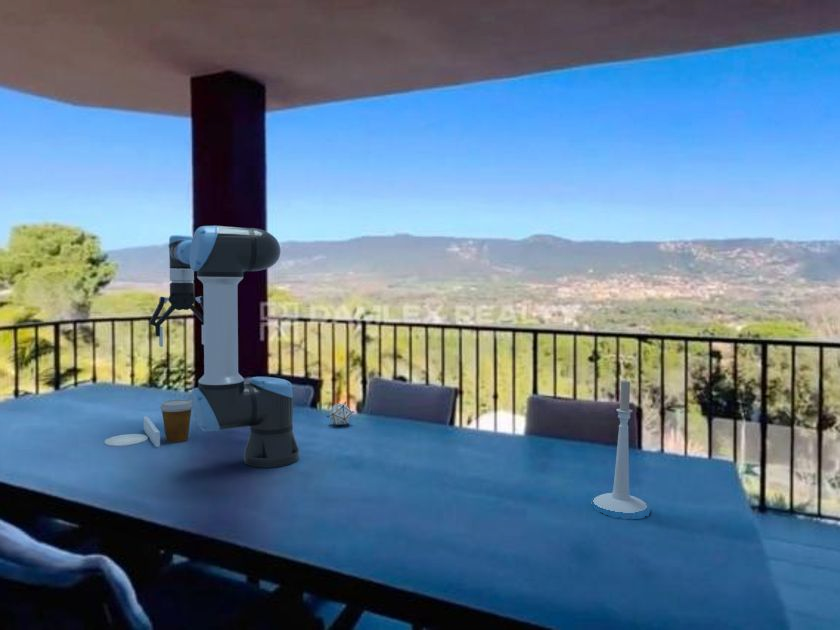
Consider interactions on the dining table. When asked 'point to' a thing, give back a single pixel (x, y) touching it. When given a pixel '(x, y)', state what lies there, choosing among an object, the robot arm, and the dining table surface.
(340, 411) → the game die
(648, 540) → the dining table surface
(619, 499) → the candlestick
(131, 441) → the coaster
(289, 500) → the dining table surface
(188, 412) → the disposable coffee cup
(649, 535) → the dining table surface
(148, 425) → the wall
